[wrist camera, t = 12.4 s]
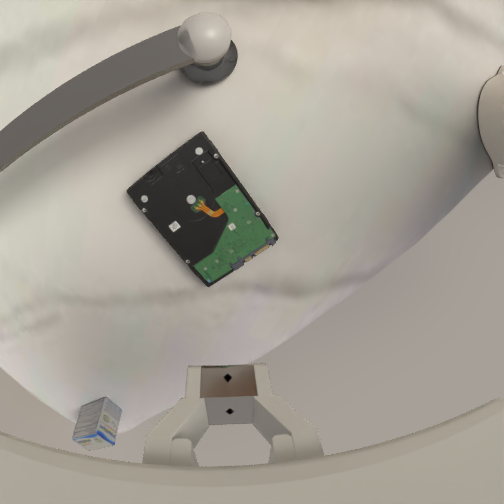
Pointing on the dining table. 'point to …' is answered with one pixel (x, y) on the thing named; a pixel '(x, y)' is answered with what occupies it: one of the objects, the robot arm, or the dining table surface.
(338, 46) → the dining table surface
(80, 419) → the medicine box
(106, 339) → the dining table surface
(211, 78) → the pivot post
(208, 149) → the disk drive
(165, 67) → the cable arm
